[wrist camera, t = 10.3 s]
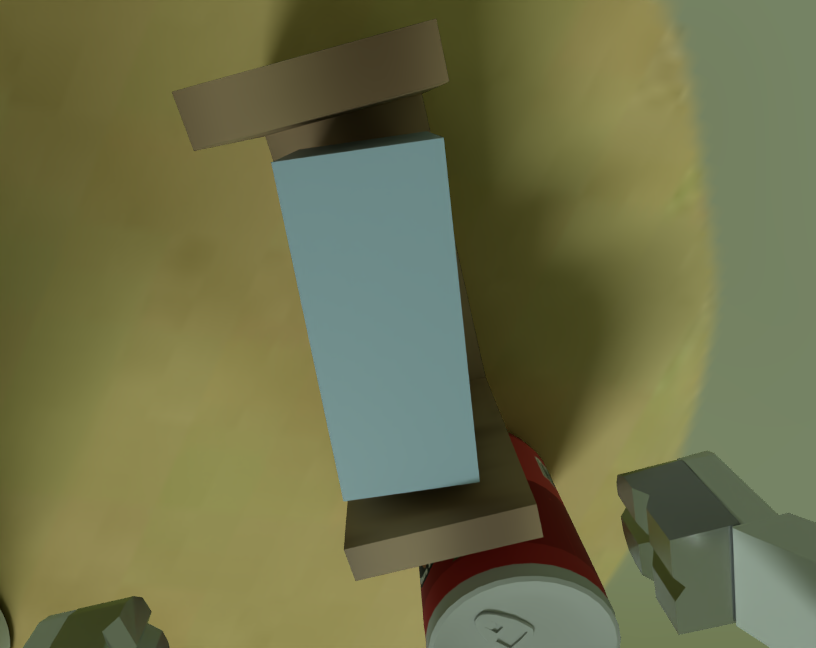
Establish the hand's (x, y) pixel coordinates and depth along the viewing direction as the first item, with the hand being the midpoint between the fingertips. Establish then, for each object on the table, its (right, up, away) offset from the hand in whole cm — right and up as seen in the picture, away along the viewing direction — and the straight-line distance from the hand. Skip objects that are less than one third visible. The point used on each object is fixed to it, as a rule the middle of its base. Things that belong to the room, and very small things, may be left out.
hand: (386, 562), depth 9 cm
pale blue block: (-1, +6, +14) cm, 15 cm away
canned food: (+4, -5, +23) cm, 24 cm away
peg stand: (-1, +7, +18) cm, 20 cm away
